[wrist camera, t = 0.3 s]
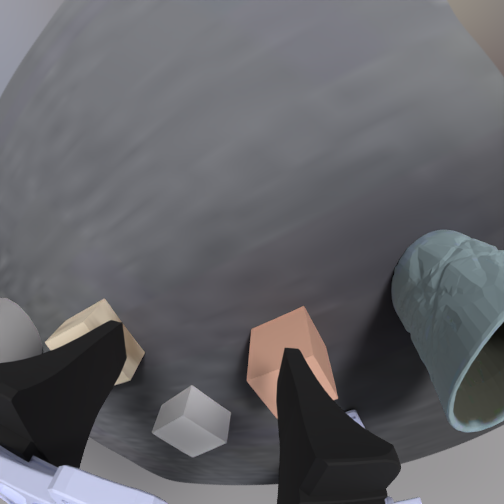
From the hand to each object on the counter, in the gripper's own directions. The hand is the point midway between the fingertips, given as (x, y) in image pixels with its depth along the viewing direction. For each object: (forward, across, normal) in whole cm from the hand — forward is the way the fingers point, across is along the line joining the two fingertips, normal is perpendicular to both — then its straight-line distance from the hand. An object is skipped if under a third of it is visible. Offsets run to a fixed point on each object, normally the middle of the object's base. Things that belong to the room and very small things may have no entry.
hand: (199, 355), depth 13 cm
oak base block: (+10, +11, +8) cm, 17 cm away
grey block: (+10, +2, +16) cm, 19 cm away
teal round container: (+10, -17, -1) cm, 20 cm away
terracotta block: (+10, -5, +6) cm, 13 cm away
